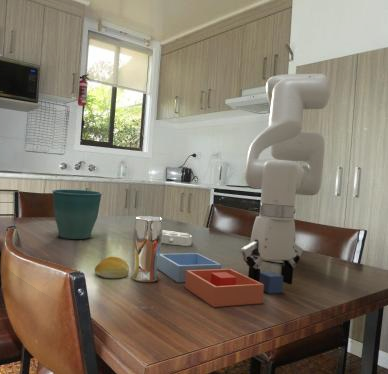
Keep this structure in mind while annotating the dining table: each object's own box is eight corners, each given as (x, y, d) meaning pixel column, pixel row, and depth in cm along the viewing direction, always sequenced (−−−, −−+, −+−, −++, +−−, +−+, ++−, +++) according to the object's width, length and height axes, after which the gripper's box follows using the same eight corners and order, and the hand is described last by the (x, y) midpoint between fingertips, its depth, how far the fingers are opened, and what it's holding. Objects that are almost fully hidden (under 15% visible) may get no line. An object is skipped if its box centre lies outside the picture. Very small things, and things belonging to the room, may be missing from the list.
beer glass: (150, 285, 86) (154, 221, 85) (125, 278, 90) (129, 217, 89) (164, 278, 92) (168, 218, 91) (140, 272, 96) (144, 215, 95)
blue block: (270, 287, 91) (271, 271, 91) (282, 292, 87) (283, 276, 87) (257, 288, 90) (258, 271, 90) (268, 293, 86) (269, 276, 86)
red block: (224, 289, 85) (226, 272, 85) (235, 295, 81) (236, 277, 81) (209, 290, 84) (211, 272, 83) (219, 296, 80) (221, 277, 80)
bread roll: (91, 277, 89) (92, 260, 89) (101, 267, 98) (102, 253, 98) (124, 281, 88) (125, 264, 88) (131, 271, 97) (132, 256, 96)
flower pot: (75, 244, 125) (79, 194, 125) (39, 235, 135) (41, 189, 134) (108, 237, 141) (111, 193, 140) (73, 230, 150) (76, 189, 150)
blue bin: (196, 267, 105) (197, 253, 105) (220, 280, 94) (221, 264, 94) (157, 268, 101) (158, 253, 101) (177, 282, 90) (178, 265, 89)
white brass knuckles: (197, 241, 145) (186, 248, 132) (154, 235, 152) (140, 240, 139) (198, 233, 145) (187, 238, 132) (155, 227, 152) (141, 231, 139)
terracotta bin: (229, 285, 90) (230, 268, 90) (262, 303, 79) (264, 284, 79) (184, 287, 86) (186, 270, 86) (213, 307, 75) (215, 287, 75)
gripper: (293, 211, 94) (287, 277, 95) (236, 209, 88) (230, 280, 89) (316, 215, 87) (310, 286, 88) (256, 213, 81) (250, 290, 82)
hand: (270, 283), depth 88 cm, fingers open, 9 cm apart
